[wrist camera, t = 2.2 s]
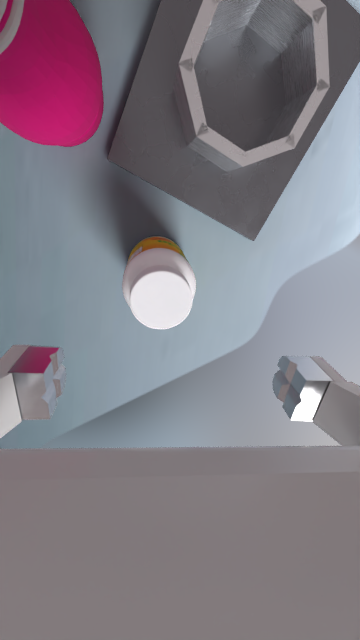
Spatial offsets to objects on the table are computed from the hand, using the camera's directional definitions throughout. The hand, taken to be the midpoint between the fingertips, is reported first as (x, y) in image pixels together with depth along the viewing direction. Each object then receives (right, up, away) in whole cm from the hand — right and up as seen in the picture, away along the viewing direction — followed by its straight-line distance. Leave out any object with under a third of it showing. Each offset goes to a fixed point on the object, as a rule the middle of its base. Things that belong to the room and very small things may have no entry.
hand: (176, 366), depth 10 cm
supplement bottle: (-2, +7, +15) cm, 17 cm away
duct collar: (+4, +19, +10) cm, 22 cm away
